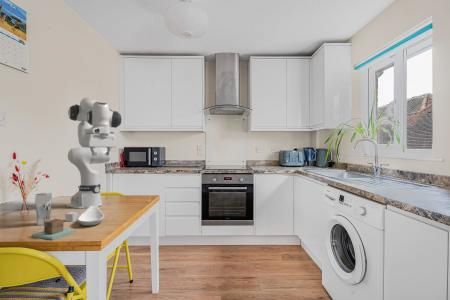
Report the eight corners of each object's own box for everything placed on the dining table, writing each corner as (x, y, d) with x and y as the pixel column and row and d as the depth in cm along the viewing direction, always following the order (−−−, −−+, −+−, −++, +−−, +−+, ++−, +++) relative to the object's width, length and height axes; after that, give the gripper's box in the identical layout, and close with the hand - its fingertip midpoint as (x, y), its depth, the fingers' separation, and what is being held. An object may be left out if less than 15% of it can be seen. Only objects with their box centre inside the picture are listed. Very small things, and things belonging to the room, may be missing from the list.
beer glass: (33, 226, 123) (33, 195, 123) (36, 222, 129) (36, 193, 129) (50, 224, 126) (50, 194, 126) (52, 221, 132) (52, 192, 132)
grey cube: (65, 221, 131) (65, 213, 131) (70, 219, 135) (70, 212, 135) (72, 221, 131) (72, 214, 131) (77, 219, 135) (77, 212, 135)
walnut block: (44, 233, 110) (44, 221, 110) (55, 229, 114) (55, 218, 114) (52, 234, 108) (52, 222, 108) (63, 231, 113) (63, 219, 113)
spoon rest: (103, 226, 123) (103, 211, 123) (76, 229, 119) (76, 214, 119) (105, 215, 145) (105, 202, 145) (82, 217, 140) (82, 204, 140)
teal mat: (32, 236, 108) (32, 234, 108) (55, 229, 118) (55, 227, 118) (52, 239, 104) (52, 237, 104) (74, 232, 114) (74, 230, 114)
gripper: (110, 132, 153) (110, 155, 153) (81, 129, 133) (81, 155, 133) (119, 132, 151) (119, 155, 151) (90, 129, 131) (90, 155, 131)
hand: (101, 155), depth 142 cm, fingers open, 8 cm apart
